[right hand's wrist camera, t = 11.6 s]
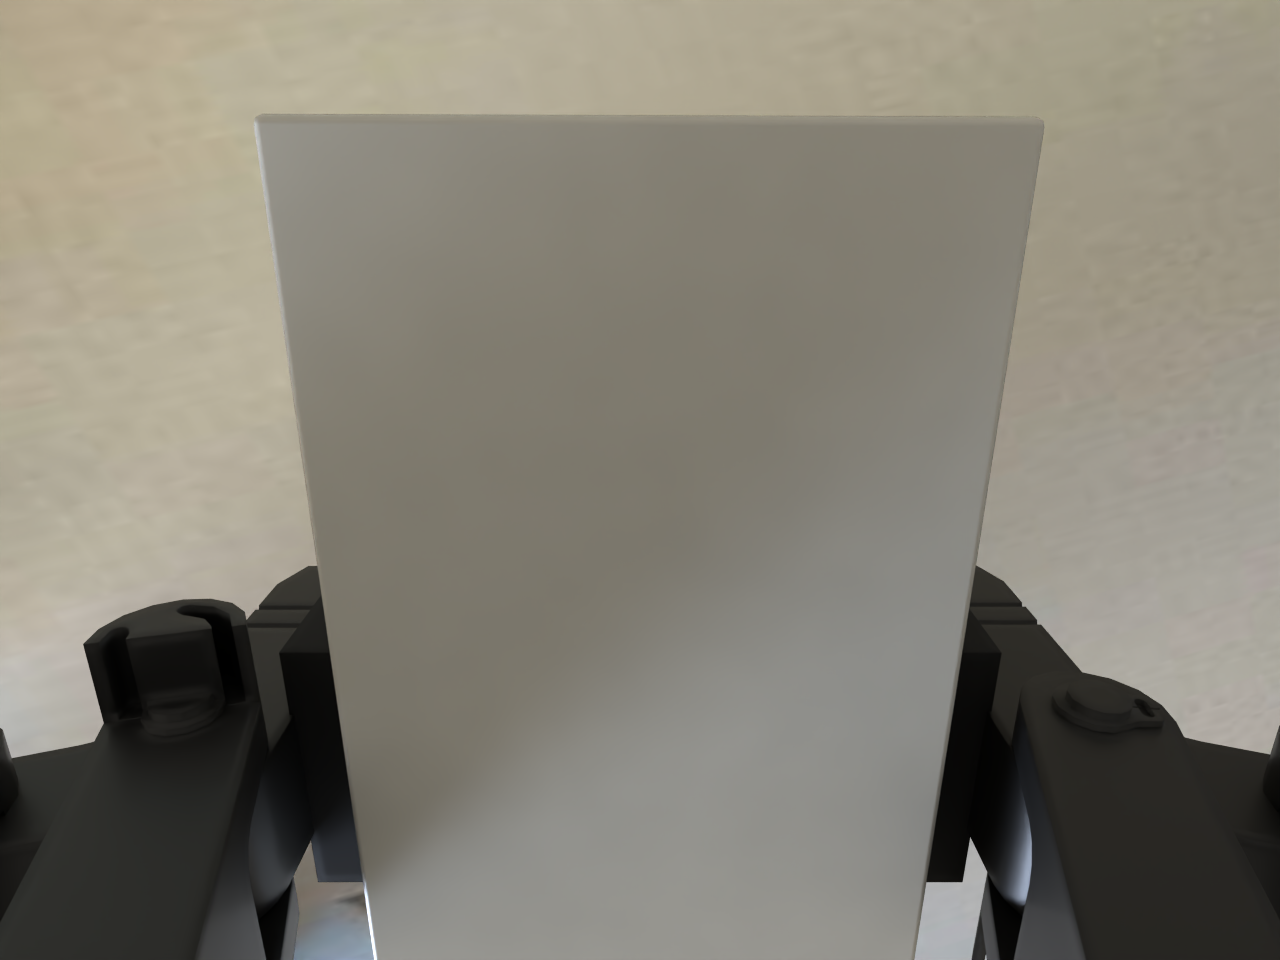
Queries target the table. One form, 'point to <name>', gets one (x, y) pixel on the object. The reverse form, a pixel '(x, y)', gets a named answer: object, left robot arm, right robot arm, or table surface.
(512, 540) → the beam
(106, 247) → the table surface
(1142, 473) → the table surface
